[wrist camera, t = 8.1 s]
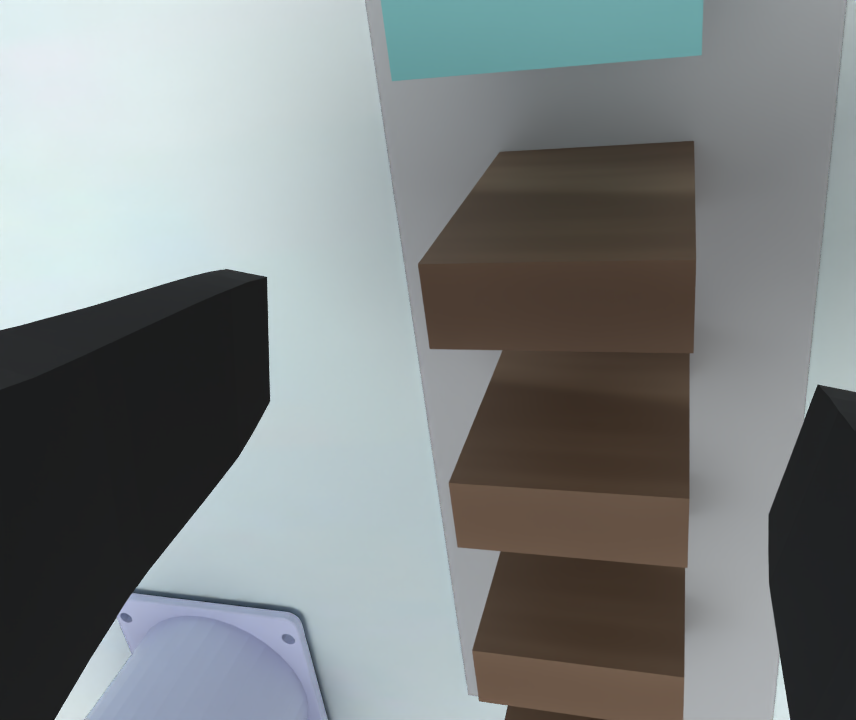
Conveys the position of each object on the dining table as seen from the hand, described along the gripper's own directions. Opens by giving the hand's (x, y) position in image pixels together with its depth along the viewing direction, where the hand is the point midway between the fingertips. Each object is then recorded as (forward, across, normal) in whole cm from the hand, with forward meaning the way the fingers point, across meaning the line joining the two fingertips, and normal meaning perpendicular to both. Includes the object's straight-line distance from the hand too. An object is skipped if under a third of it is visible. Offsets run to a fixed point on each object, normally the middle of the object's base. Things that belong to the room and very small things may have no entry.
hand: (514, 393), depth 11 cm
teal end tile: (+10, +1, -4) cm, 11 cm away
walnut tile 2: (+10, -2, +9) cm, 14 cm away
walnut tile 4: (+10, 0, 0) cm, 10 cm away
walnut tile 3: (+10, -1, +4) cm, 11 cm away
